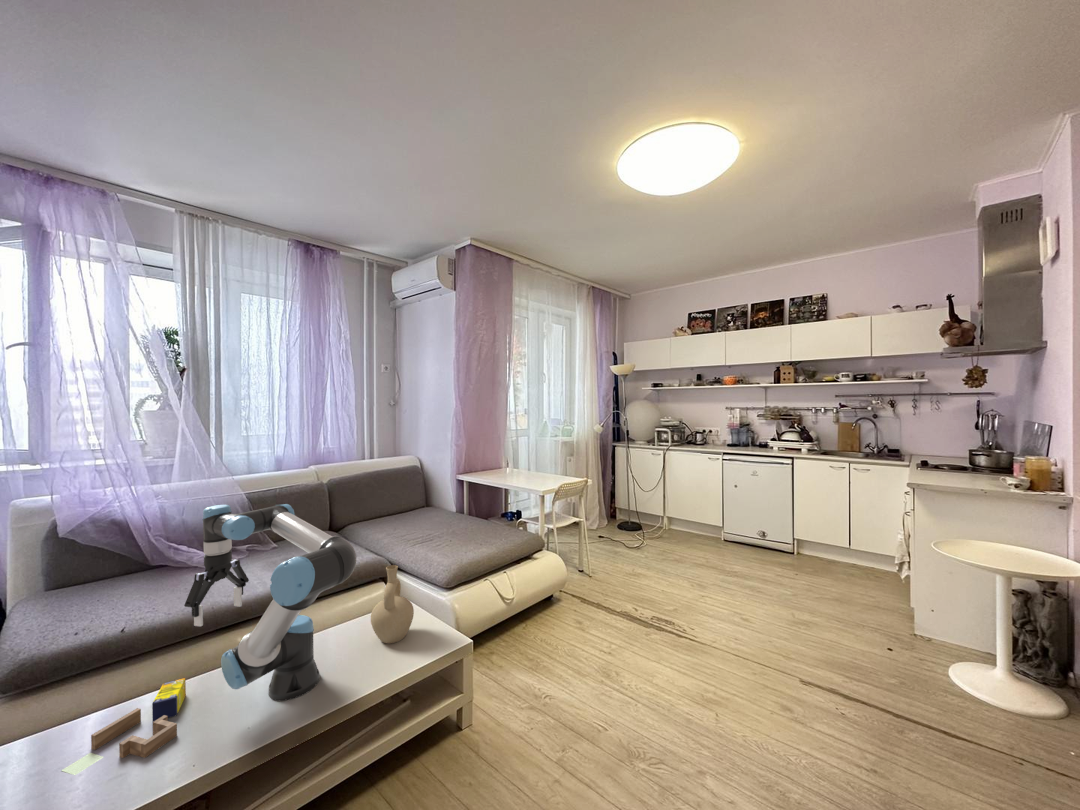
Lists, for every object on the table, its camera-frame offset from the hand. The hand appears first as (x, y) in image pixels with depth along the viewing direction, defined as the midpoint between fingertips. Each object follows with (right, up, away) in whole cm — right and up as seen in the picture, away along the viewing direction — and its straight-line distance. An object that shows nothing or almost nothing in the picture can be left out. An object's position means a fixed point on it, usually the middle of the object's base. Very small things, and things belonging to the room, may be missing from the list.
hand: (219, 615), depth 142 cm
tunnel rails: (-9, -27, -20) cm, 34 cm away
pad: (-14, -27, -28) cm, 41 cm away
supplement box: (-8, -24, -11) cm, 27 cm away
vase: (+48, -26, +31) cm, 63 cm away
